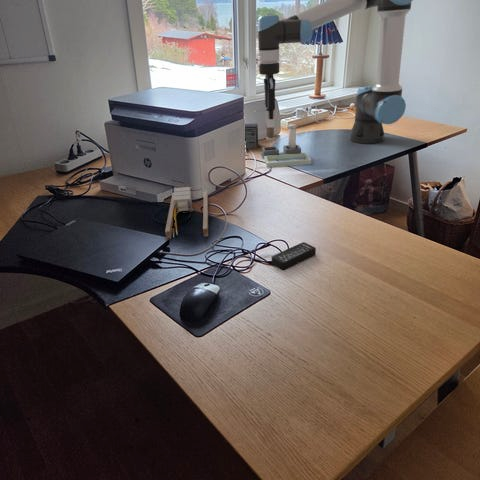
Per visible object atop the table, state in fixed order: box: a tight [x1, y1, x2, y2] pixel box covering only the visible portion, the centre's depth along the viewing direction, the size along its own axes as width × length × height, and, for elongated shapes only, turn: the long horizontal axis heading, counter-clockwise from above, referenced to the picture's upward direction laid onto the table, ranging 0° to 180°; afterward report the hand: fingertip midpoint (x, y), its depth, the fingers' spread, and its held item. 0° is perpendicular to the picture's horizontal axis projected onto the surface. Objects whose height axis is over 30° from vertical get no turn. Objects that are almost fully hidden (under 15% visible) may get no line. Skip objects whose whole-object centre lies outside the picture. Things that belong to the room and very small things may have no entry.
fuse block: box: [261, 144, 302, 160], centre depth 173 cm, size 16×7×4 cm, turn 94°
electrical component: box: [172, 186, 194, 238], centre depth 125 cm, size 24×6×5 cm, turn 6°
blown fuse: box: [265, 110, 276, 142], centre depth 167 cm, size 3×3×12 cm
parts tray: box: [263, 152, 313, 168], centre depth 165 cm, size 17×9×2 cm, turn 94°
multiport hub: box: [271, 242, 317, 271], centre depth 102 cm, size 4×11×2 cm, turn 128°
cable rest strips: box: [164, 190, 209, 240], centre depth 127 cm, size 11×28×2 cm, turn 4°
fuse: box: [287, 123, 298, 149], centre depth 171 cm, size 3×3×12 cm
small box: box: [244, 123, 259, 149], centre depth 185 cm, size 11×6×10 cm, turn 84°
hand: (270, 125), depth 167 cm, fingers closed on blown fuse, 3 cm apart
